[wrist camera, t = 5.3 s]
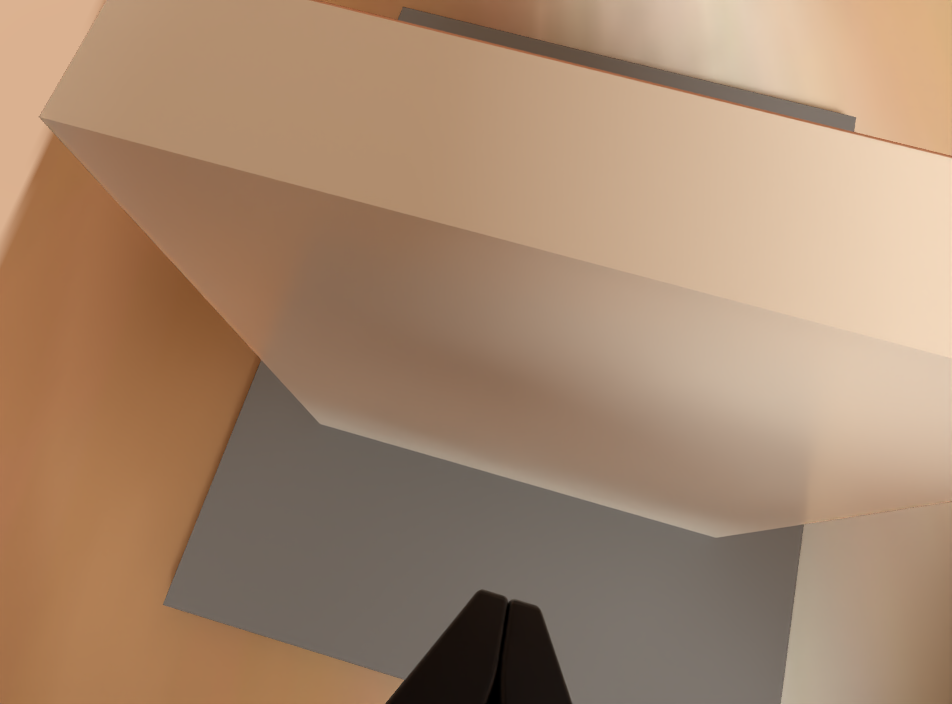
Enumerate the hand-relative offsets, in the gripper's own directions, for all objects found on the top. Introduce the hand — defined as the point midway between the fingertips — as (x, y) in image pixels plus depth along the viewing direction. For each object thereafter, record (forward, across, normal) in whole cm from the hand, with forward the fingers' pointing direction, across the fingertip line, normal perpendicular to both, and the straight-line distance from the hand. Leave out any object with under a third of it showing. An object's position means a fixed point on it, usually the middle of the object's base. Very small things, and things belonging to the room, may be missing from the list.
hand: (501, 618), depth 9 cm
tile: (+8, 0, +2) cm, 8 cm away
